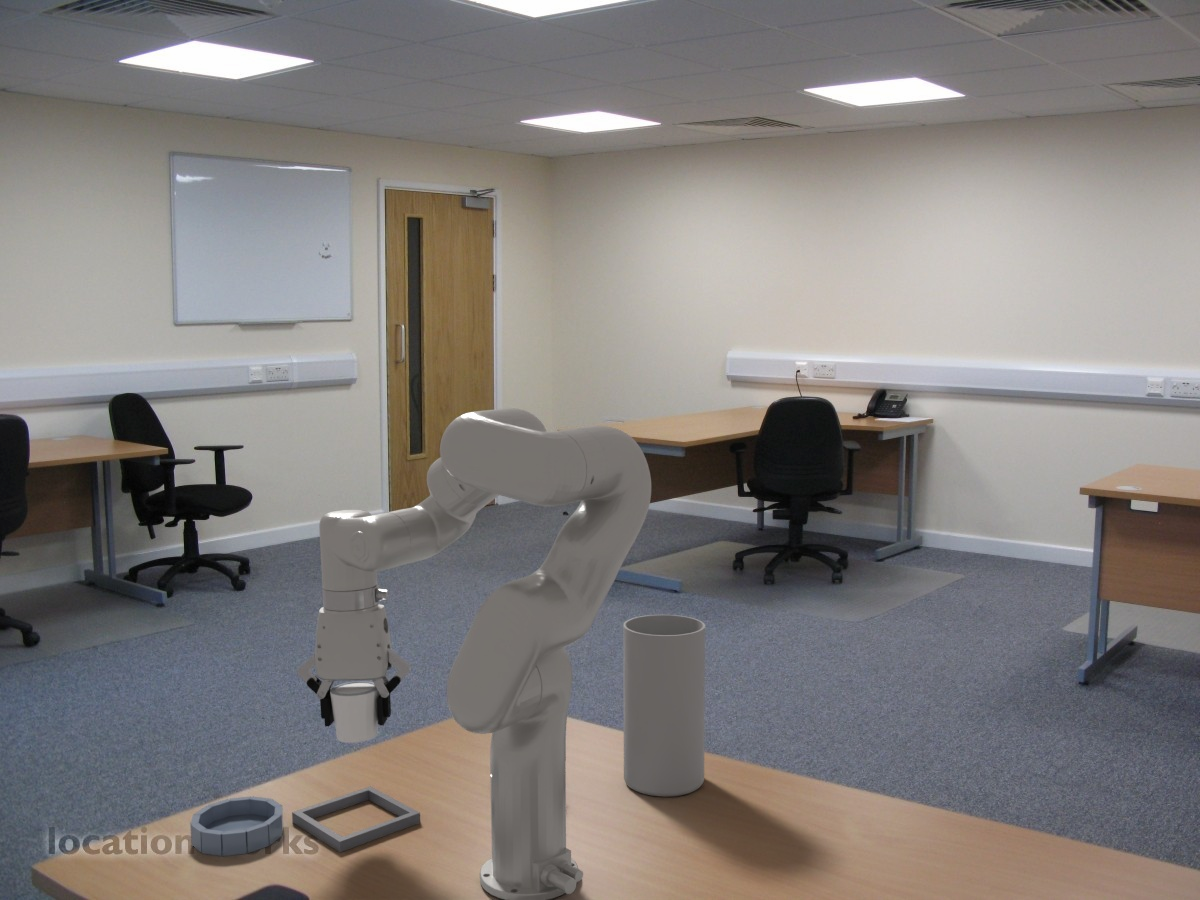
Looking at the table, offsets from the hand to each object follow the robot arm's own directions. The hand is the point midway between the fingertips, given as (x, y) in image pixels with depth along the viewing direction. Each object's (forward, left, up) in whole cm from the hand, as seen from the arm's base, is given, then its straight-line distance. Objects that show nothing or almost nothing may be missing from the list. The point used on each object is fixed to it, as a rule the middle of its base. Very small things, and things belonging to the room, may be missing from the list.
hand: (356, 721), depth 157 cm
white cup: (0, 0, -2) cm, 2 cm away
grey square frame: (+1, 0, -15) cm, 15 cm away
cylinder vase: (-20, -42, -15) cm, 49 cm away
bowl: (+9, +14, -15) cm, 22 cm away
